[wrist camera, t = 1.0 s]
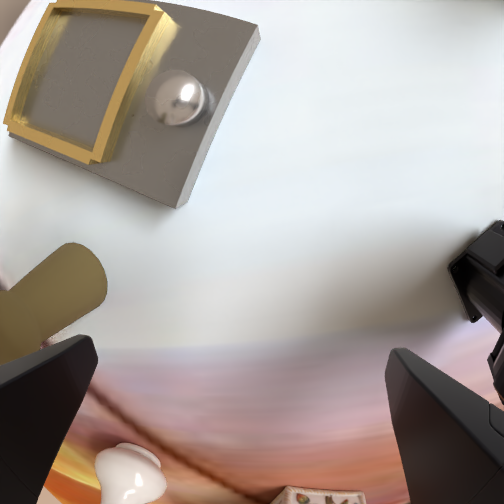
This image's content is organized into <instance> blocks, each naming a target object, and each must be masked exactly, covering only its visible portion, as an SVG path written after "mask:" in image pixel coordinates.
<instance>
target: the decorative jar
mask: <svg viewBox="0 0 504 504" xmlns="http://www.w3.org/2000/svg"><path fill="white" fill-rule="evenodd" d="M270 504H366V500H365V496H364V493H363V492H362V491H334V490H322V489H310V488H300V487H292V486H286V487H285V489H284V490H283V491H282V492H281V493H280V494H279V495H278V496H277V497H276V498H275V499H274V500H273V501H272V502H271V503H270Z"/></svg>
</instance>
